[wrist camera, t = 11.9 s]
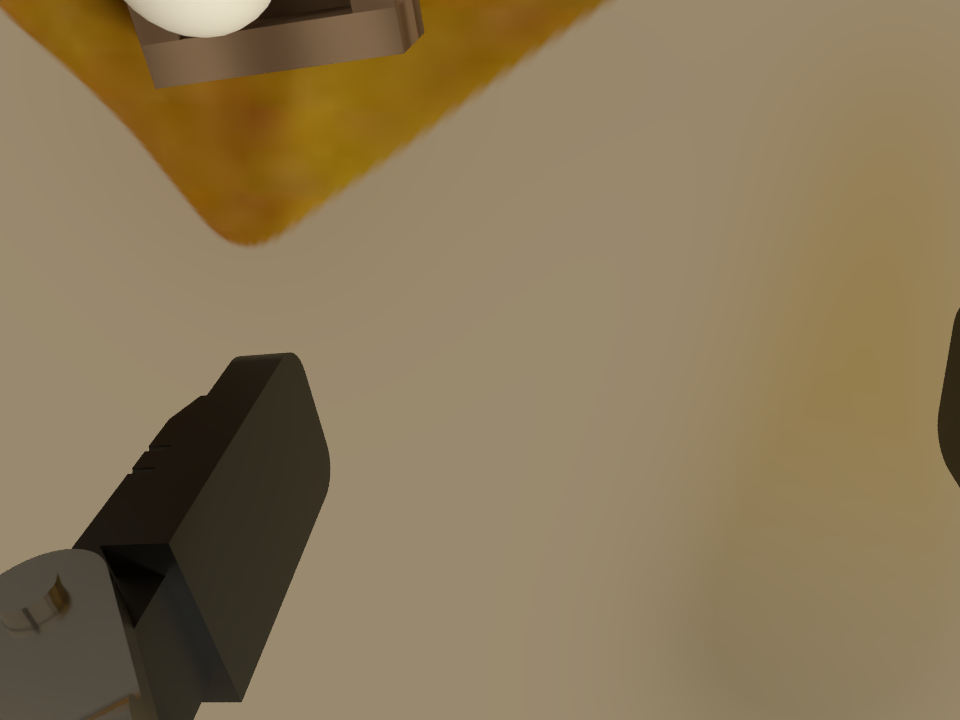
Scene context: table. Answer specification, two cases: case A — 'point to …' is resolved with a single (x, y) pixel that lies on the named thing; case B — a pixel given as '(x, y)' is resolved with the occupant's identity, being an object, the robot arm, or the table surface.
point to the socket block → (282, 40)
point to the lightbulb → (200, 15)
